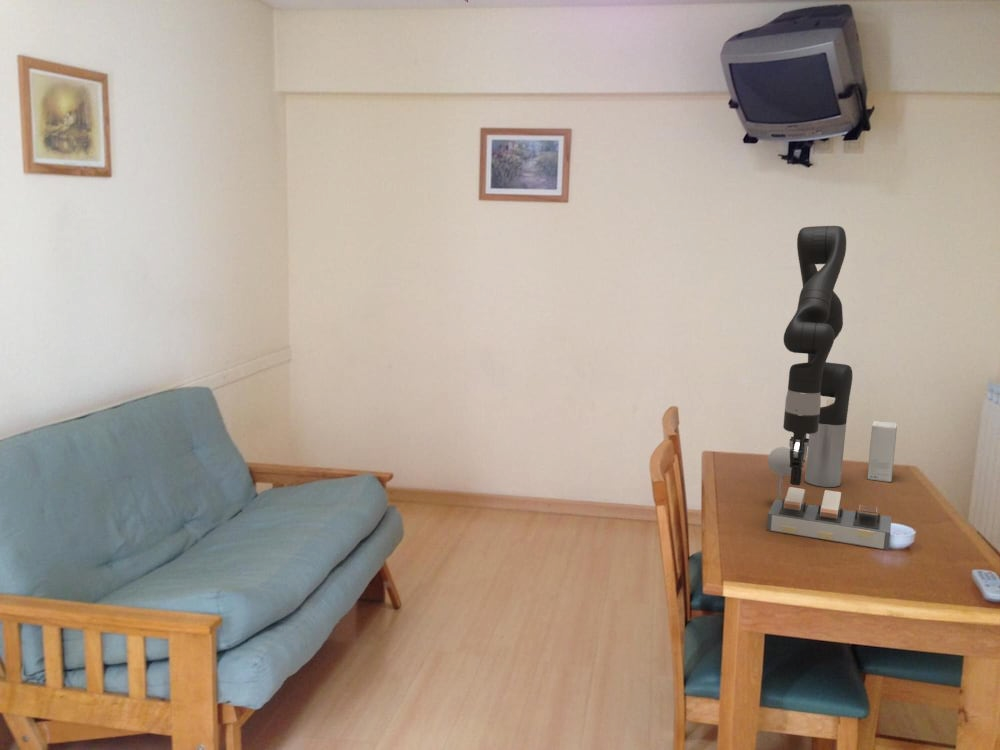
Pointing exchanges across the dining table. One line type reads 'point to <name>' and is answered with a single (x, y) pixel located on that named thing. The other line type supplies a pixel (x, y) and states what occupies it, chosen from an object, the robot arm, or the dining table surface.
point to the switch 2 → (830, 504)
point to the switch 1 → (794, 498)
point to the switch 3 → (868, 509)
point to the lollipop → (780, 464)
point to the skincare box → (882, 451)
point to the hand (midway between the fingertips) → (795, 484)
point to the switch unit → (831, 525)
